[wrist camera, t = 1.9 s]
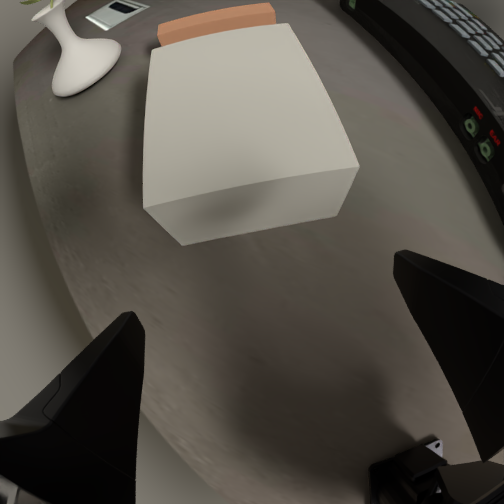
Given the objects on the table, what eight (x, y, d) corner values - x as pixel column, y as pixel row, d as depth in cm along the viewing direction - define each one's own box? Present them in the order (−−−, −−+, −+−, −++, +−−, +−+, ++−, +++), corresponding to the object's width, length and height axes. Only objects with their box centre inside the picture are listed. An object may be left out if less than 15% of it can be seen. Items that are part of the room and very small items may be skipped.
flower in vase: (60, 116, 28) (-39, -9, 4) (57, 80, 31) (-15, -22, 7) (144, 62, 29) (77, -90, 5) (127, 36, 32) (74, -80, 8)
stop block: (276, 44, 28) (275, 11, 23) (169, 65, 28) (157, 35, 23) (271, 33, 29) (269, 2, 24) (169, 53, 29) (158, 24, 24)
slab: (335, 217, 22) (359, 166, 15) (183, 246, 22) (143, 208, 15) (287, 80, 26) (287, 23, 19) (174, 102, 27) (151, 49, 19)
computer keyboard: (589, 218, 19) (613, 203, 12) (519, 284, 19) (564, 269, 12) (451, 19, 31) (459, -4, 25) (336, 8, 31) (339, -25, 25)
